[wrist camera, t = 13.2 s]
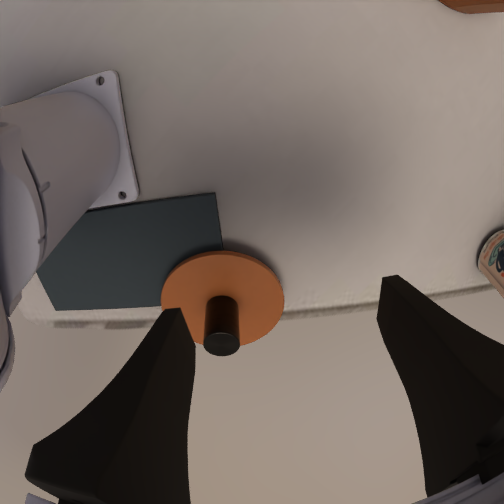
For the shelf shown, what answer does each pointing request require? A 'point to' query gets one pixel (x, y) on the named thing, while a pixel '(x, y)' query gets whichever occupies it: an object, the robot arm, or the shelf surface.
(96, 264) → the felt mat
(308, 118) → the shelf surface
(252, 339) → the lid
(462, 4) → the terracotta cup
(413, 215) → the shelf surface
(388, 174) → the shelf surface
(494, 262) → the beer can
